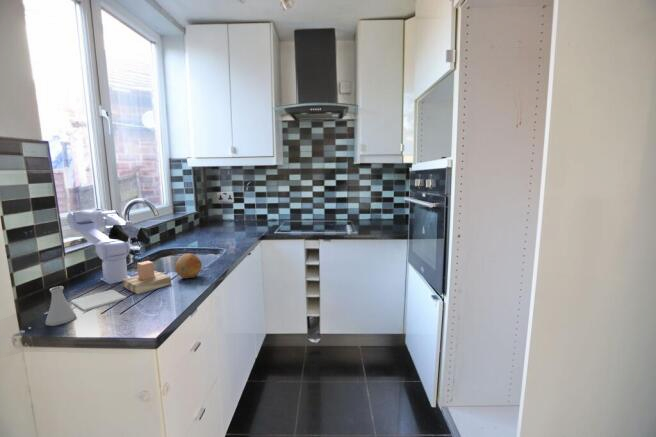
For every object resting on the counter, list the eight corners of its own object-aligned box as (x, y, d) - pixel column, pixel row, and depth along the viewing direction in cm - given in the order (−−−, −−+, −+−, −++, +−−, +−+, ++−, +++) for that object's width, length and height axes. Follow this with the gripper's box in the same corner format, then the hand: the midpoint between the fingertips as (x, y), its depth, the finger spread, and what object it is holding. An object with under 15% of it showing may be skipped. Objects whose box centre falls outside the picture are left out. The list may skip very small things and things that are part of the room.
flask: (81, 318, 94) (77, 286, 92) (51, 329, 88) (45, 294, 86) (70, 313, 97) (66, 282, 96) (40, 323, 91) (35, 290, 90)
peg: (139, 286, 120) (137, 263, 118) (150, 283, 123) (148, 260, 121) (144, 288, 117) (141, 265, 116) (155, 285, 120) (153, 262, 119)
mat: (71, 302, 106) (71, 300, 106) (112, 290, 115) (112, 289, 115) (83, 311, 98) (83, 309, 98) (126, 298, 108) (126, 296, 108)
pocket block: (123, 287, 119) (122, 279, 118) (156, 278, 128) (155, 270, 128) (137, 294, 112) (136, 286, 111) (171, 284, 121) (170, 276, 121)
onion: (173, 283, 122) (171, 258, 121) (179, 275, 132) (177, 251, 130) (200, 280, 124) (198, 256, 123) (203, 273, 134) (202, 250, 133)
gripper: (102, 213, 113) (120, 227, 106) (142, 219, 126) (160, 232, 119) (95, 231, 113) (113, 246, 107) (135, 236, 126) (153, 249, 119)
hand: (137, 240), depth 113 cm, fingers open, 7 cm apart
